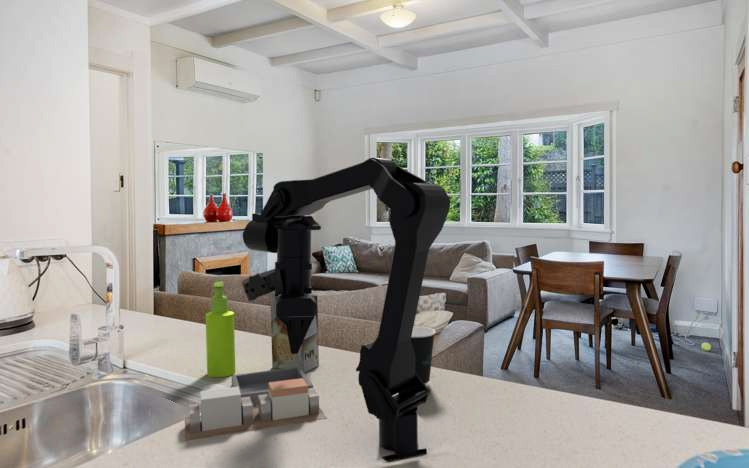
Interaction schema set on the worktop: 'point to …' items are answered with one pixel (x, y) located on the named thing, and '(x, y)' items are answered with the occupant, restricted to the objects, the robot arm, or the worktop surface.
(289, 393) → the block
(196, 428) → the board
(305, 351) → the coffee box
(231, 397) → the block
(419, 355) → the dixie cup
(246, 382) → the tray
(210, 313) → the soap dispenser
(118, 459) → the worktop surface
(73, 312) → the worktop surface
